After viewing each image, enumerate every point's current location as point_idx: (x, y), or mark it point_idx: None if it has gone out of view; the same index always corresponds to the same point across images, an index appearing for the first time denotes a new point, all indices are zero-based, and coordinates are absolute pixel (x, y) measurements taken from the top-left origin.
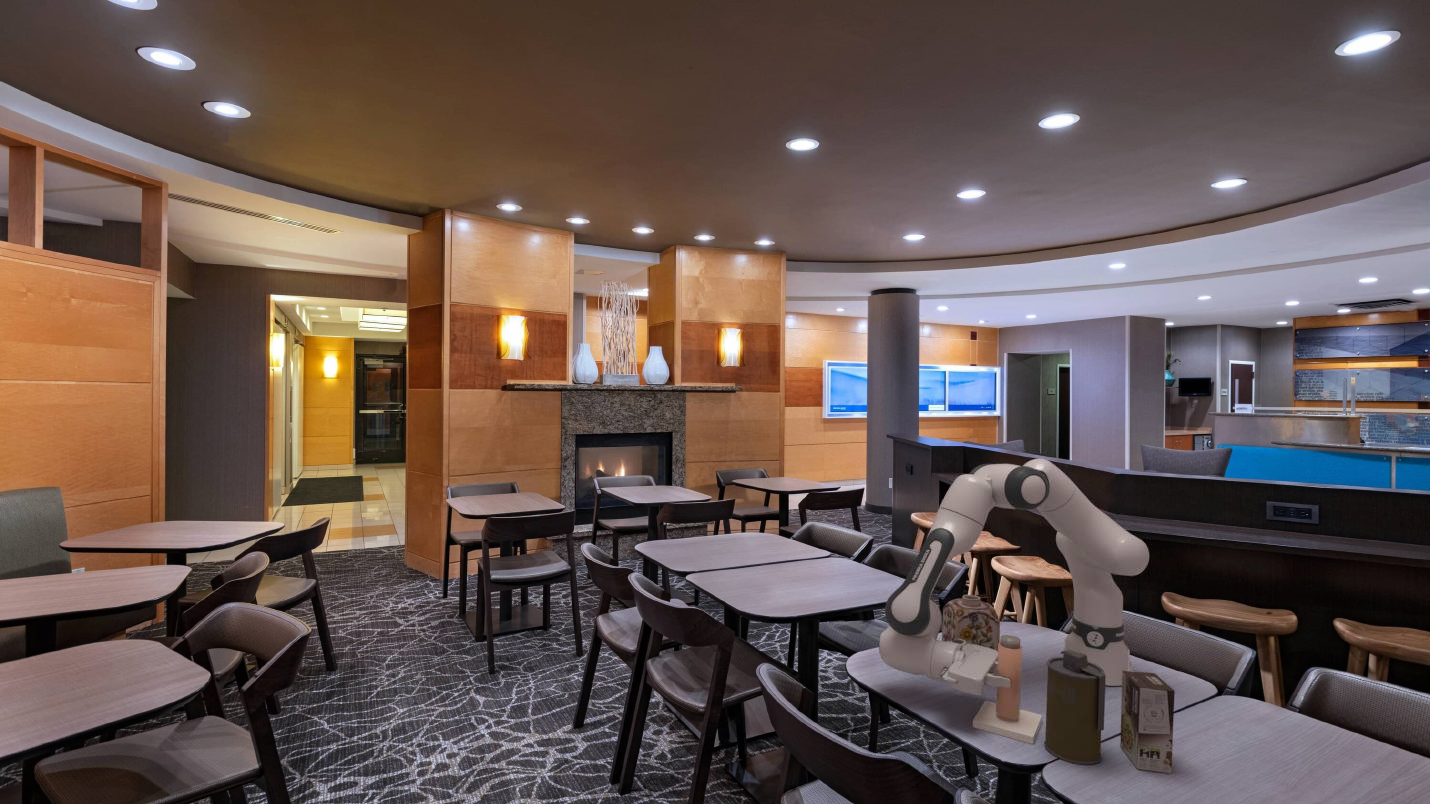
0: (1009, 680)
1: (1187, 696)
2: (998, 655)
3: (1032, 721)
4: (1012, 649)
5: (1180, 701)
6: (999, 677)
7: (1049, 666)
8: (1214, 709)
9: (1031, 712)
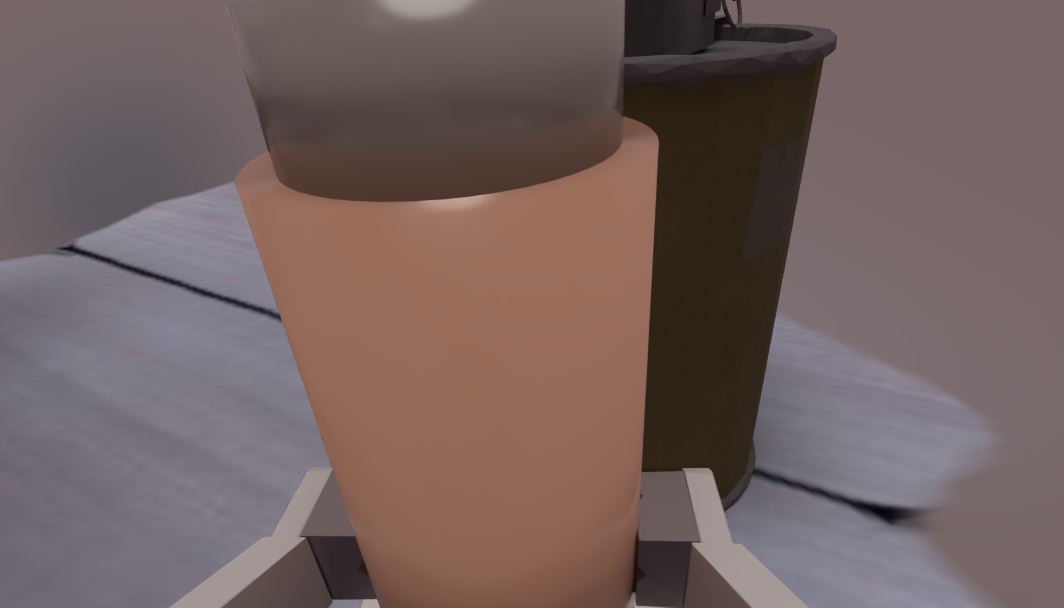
0: (707, 471)
1: (74, 275)
2: (548, 415)
3: None
4: (631, 121)
5: (110, 281)
6: (753, 562)
7: (793, 52)
8: (163, 249)
9: (364, 605)
